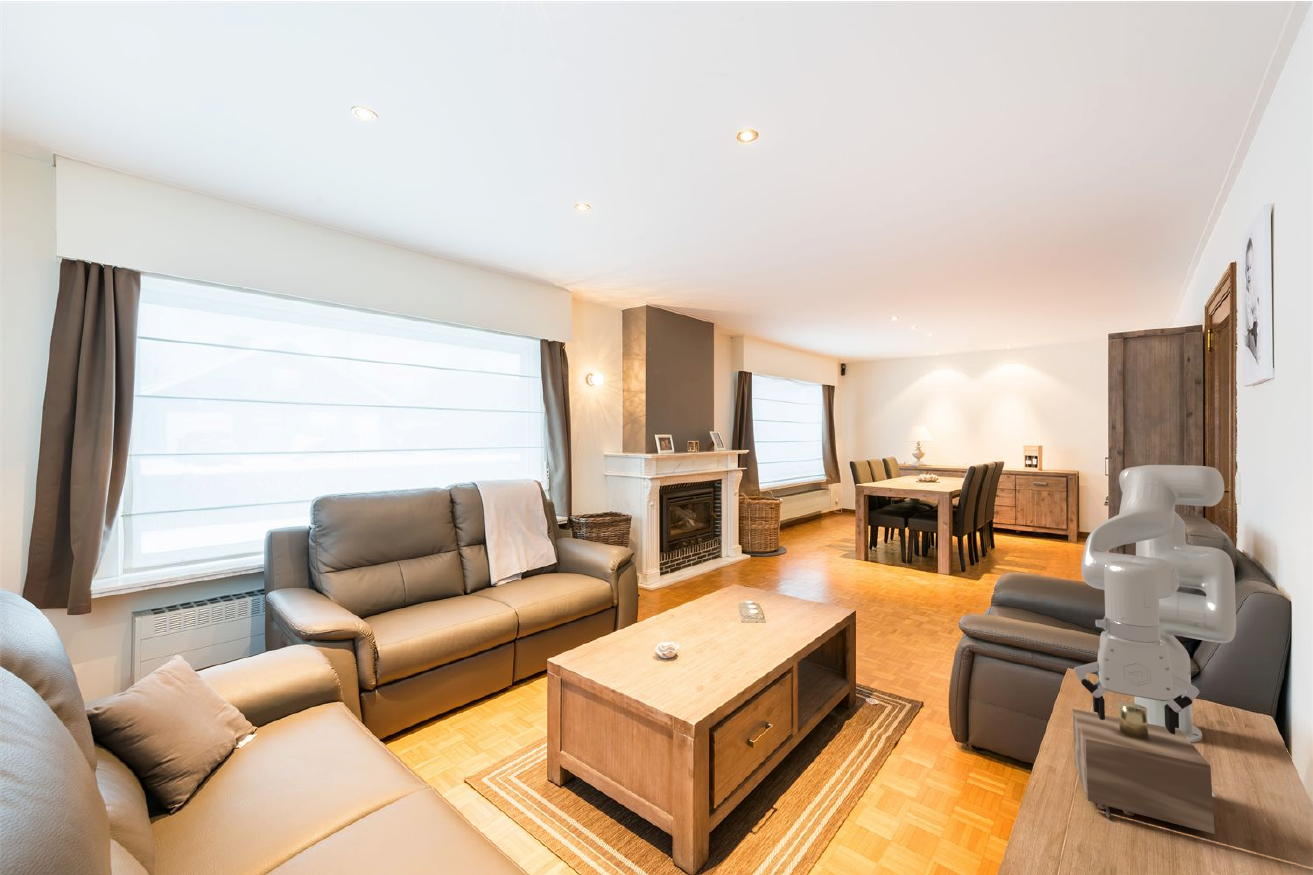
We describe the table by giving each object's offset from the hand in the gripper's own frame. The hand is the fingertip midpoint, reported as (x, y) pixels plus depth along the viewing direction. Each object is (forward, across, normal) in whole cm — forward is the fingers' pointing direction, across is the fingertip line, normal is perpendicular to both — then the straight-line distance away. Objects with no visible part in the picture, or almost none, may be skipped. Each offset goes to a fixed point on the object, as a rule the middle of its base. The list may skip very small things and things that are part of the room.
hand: (1134, 723), depth 98 cm
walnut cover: (+13, 0, 0) cm, 13 cm away
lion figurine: (+14, -2, -2) cm, 15 cm away
